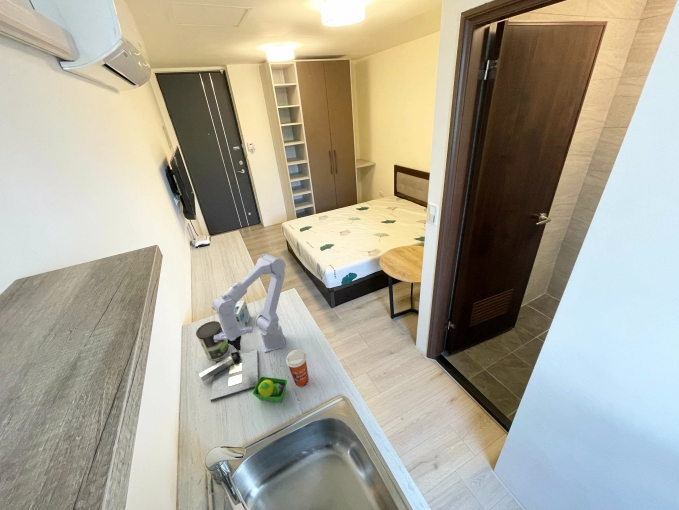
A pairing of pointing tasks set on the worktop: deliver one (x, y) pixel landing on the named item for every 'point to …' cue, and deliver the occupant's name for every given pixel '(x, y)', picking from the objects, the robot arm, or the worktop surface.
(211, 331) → the coffee can
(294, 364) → the paper cup
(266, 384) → the fruit basket
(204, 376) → the swing bar
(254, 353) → the chassis tray
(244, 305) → the light bulb box
